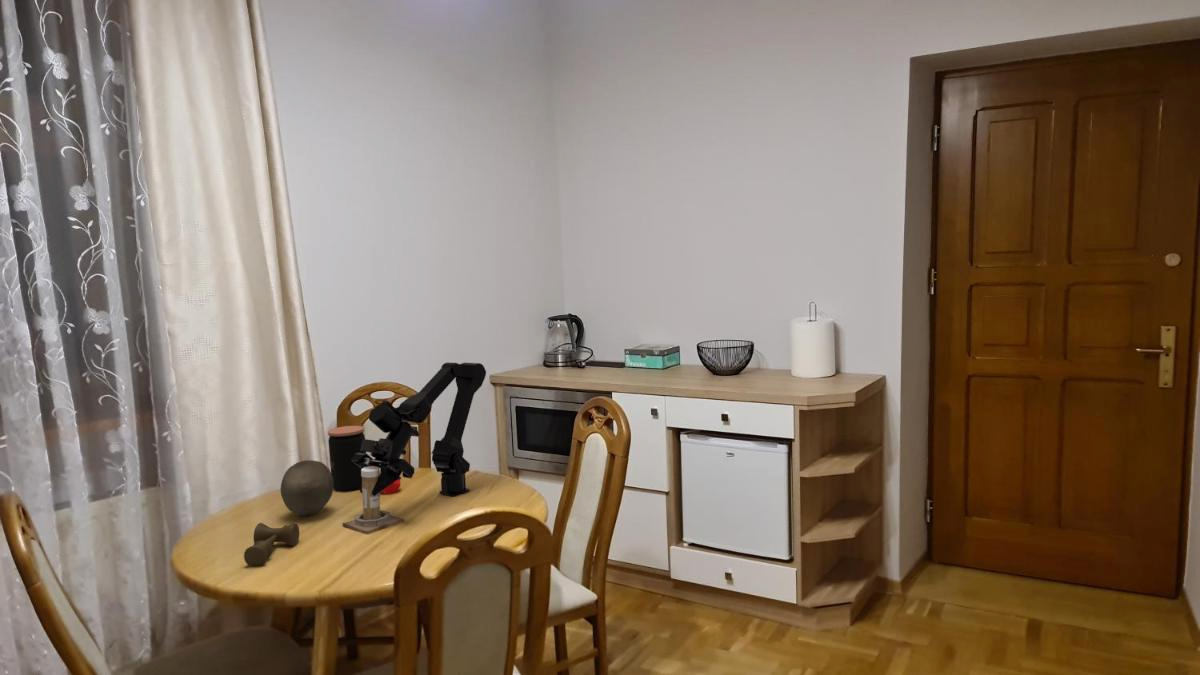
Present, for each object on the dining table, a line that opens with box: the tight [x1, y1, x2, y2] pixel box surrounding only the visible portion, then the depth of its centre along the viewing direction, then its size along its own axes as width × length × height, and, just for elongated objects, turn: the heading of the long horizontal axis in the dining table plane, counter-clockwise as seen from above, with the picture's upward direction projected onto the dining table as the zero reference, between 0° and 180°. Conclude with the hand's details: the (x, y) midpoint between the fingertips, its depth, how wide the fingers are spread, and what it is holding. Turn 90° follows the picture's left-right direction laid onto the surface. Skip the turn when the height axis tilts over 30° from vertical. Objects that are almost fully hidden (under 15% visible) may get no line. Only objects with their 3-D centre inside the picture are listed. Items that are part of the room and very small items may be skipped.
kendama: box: [243, 522, 300, 568], centre depth 191 cm, size 6×10×20 cm
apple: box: [379, 474, 401, 495], centre depth 236 cm, size 7×7×8 cm
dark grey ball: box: [280, 459, 334, 517], centre depth 217 cm, size 14×14×15 cm
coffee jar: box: [327, 425, 367, 493], centre depth 242 cm, size 11×11×18 cm
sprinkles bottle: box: [361, 466, 381, 520], centre depth 207 cm, size 5×5×14 cm
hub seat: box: [342, 509, 405, 535], centre depth 207 cm, size 11×11×2 cm
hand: (367, 493), depth 206 cm, fingers closed on sprinkles bottle, 4 cm apart
